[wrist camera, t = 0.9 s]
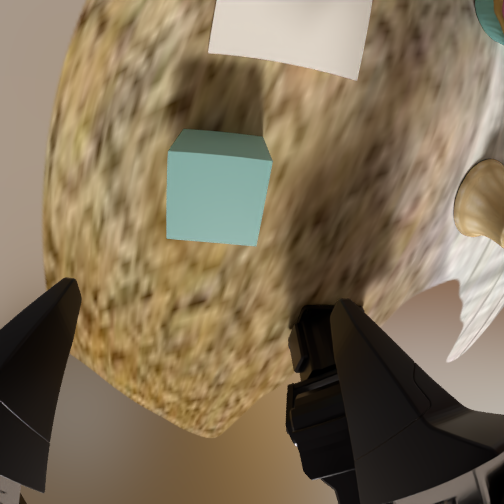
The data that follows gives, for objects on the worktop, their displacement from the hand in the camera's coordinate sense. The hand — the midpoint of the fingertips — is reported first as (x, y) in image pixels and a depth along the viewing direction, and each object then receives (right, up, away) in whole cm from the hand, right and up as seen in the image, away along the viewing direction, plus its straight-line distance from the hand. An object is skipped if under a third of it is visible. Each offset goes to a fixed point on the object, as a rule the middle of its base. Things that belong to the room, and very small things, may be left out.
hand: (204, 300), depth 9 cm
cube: (-1, +7, +9) cm, 12 cm away
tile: (+4, +16, +3) cm, 17 cm away
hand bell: (+23, +7, +12) cm, 27 cm away
